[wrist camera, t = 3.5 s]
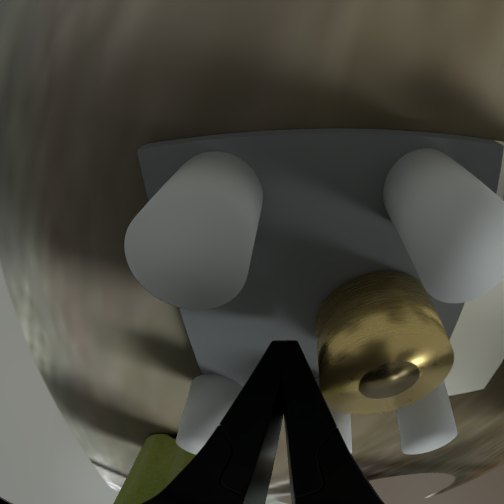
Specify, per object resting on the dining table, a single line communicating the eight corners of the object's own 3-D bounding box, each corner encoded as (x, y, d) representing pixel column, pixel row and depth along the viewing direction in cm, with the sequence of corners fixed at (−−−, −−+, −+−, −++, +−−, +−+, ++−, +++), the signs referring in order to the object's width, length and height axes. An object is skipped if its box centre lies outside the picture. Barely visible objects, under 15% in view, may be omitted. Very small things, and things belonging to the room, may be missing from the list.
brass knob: (441, 266, 9) (474, 326, 7) (413, 351, 11) (429, 407, 9) (317, 271, 9) (325, 340, 7) (312, 358, 11) (315, 419, 9)
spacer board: (569, 155, 6) (636, 203, 3) (480, 380, 13) (498, 436, 10) (124, 147, 8) (48, 200, 5) (202, 393, 15) (186, 456, 12)
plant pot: (159, 407, 17) (119, 538, 9) (276, 458, 19) (264, 566, 12) (110, 432, 21) (79, 520, 14) (204, 474, 24) (187, 554, 17)
